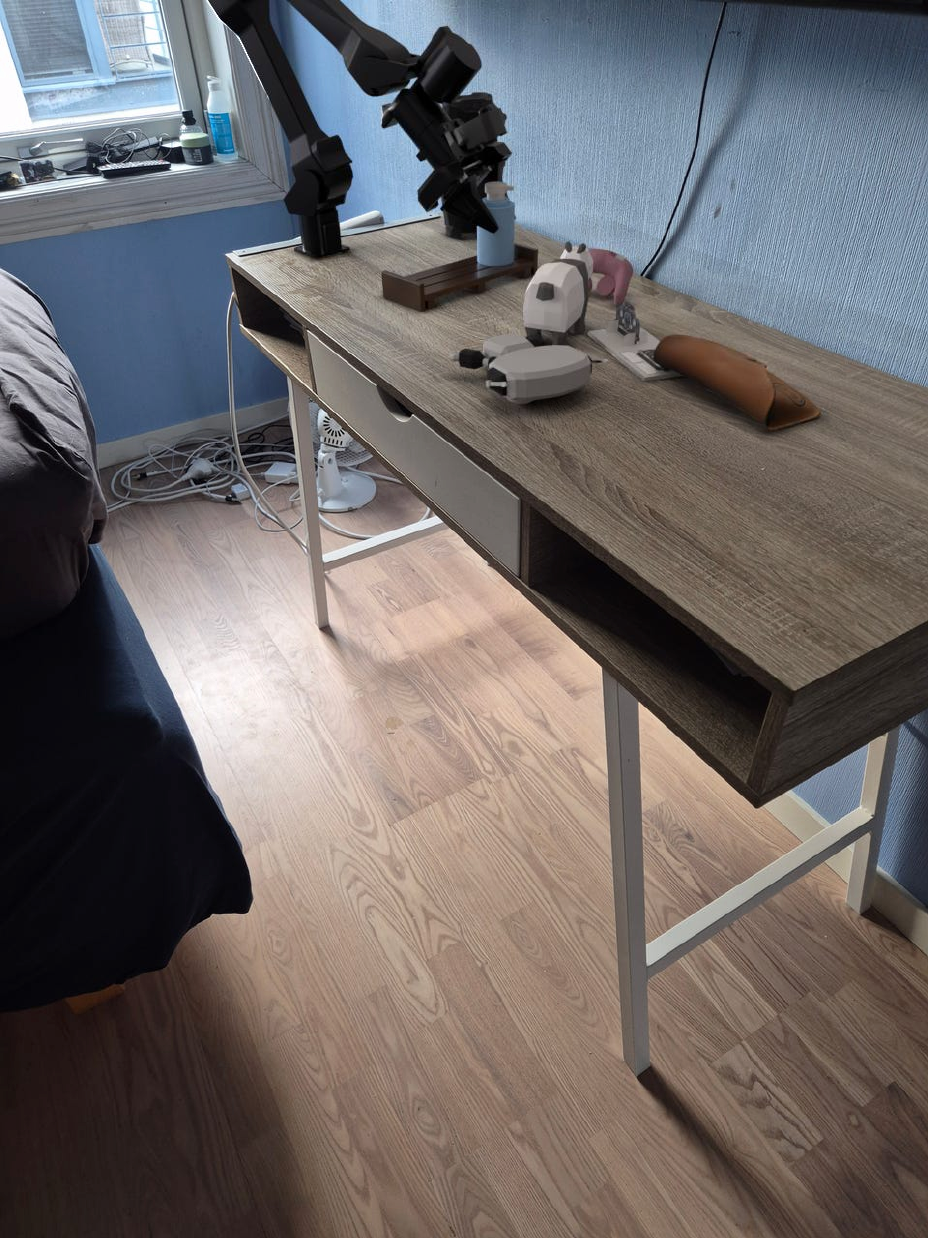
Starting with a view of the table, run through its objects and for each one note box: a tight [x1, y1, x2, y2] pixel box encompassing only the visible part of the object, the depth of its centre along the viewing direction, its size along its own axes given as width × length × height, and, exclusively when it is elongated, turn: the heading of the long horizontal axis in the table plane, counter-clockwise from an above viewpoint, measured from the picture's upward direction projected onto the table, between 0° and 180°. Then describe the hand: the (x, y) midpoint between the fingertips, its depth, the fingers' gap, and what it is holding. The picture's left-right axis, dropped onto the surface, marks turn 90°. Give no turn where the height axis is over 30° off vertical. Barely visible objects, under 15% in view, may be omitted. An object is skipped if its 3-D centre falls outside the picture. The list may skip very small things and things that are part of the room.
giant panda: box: [522, 240, 594, 346], centre depth 104 cm, size 15×6×10 cm, turn 155°
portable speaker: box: [440, 91, 498, 239], centre depth 136 cm, size 9×9×20 cm
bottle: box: [476, 181, 516, 266], centre depth 120 cm, size 5×5×10 cm
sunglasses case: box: [653, 333, 822, 432], centre depth 91 cm, size 18×7×7 cm, turn 28°
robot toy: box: [448, 333, 609, 405], centre depth 93 cm, size 12×4×15 cm
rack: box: [380, 242, 539, 312], centre depth 120 cm, size 8×22×4 cm, turn 133°
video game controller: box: [587, 247, 634, 307], centre depth 115 cm, size 10×5×7 cm, turn 65°
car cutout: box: [587, 300, 683, 382], centre depth 100 cm, size 15×7×4 cm, turn 18°
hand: (505, 225), depth 120 cm, fingers open, 5 cm apart
